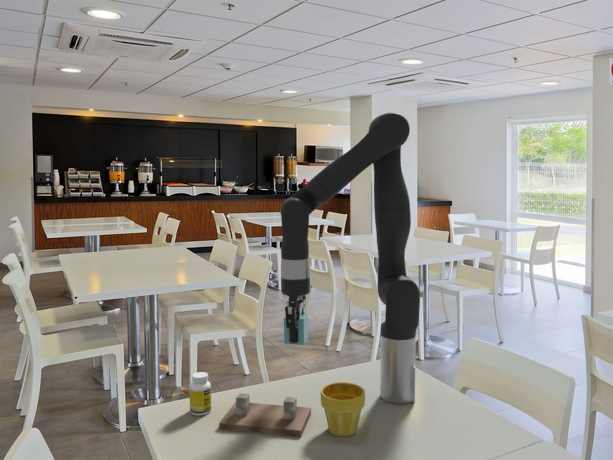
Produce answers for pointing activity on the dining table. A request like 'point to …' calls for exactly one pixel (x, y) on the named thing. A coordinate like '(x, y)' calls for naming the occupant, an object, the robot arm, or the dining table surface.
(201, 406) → the supplement bottle
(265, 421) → the post board
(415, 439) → the dining table surface
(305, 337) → the teal rectangular block
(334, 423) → the plant pot
